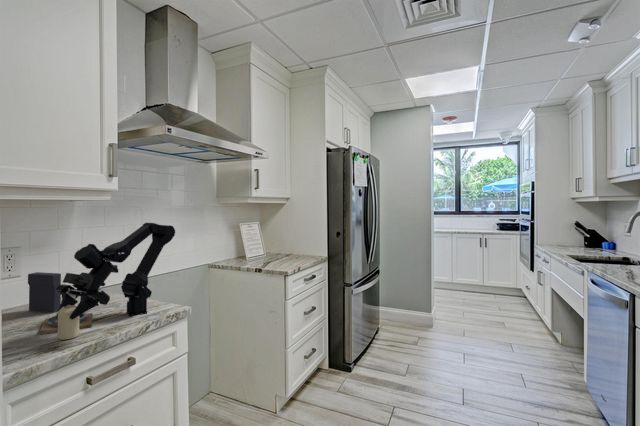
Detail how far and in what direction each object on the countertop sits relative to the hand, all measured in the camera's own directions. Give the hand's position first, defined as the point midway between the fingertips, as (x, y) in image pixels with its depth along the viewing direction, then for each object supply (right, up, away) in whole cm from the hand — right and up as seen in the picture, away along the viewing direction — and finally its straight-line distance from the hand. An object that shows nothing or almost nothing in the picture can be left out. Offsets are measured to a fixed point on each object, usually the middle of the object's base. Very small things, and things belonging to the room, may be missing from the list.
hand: (64, 317), depth 105 cm
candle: (0, -7, +2) cm, 7 cm away
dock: (-8, -6, +13) cm, 16 cm away
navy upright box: (-28, -6, +26) cm, 39 cm away
